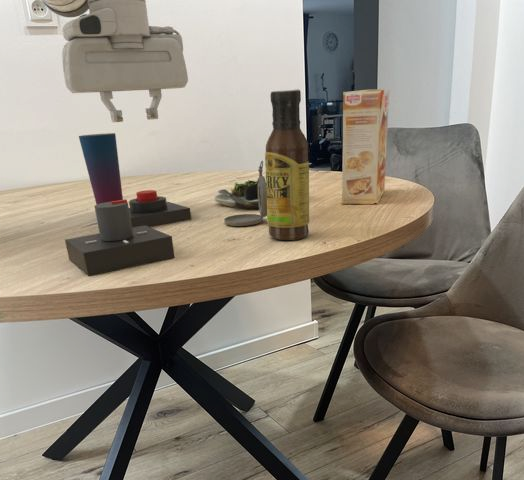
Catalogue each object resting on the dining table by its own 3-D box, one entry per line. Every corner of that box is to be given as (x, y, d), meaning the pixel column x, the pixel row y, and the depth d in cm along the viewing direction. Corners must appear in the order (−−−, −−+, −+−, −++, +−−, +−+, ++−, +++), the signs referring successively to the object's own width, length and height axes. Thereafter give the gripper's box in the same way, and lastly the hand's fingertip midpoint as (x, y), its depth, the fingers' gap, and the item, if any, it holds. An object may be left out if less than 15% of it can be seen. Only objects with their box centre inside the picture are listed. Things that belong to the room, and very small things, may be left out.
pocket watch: (217, 224, 89) (211, 163, 84) (254, 216, 93) (250, 158, 89) (246, 231, 83) (241, 166, 78) (284, 221, 87) (282, 159, 83)
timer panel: (88, 276, 65) (83, 251, 64) (69, 260, 73) (64, 238, 72) (174, 257, 71) (171, 234, 69) (148, 244, 78) (145, 224, 77)
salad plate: (191, 205, 108) (188, 182, 106) (252, 192, 119) (251, 171, 117) (253, 214, 95) (251, 188, 93) (316, 198, 106) (315, 175, 104)
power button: (141, 204, 91) (140, 194, 90) (135, 201, 94) (133, 192, 93) (160, 201, 93) (159, 191, 92) (153, 199, 96) (152, 189, 95)
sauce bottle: (260, 237, 78) (251, 92, 70) (292, 230, 81) (287, 90, 73) (286, 244, 74) (279, 89, 65) (319, 236, 77) (317, 87, 68)
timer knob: (106, 243, 68) (99, 206, 66) (96, 237, 71) (89, 202, 69) (138, 237, 70) (132, 201, 68) (127, 232, 73) (120, 197, 71)
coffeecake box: (378, 204, 96) (382, 88, 88) (340, 204, 98) (341, 91, 90) (386, 191, 109) (390, 88, 100) (352, 191, 111) (354, 91, 103)
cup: (88, 217, 102) (71, 136, 96) (105, 210, 108) (90, 134, 102) (118, 217, 101) (103, 134, 94) (134, 210, 106) (121, 132, 100)
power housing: (128, 231, 88) (124, 207, 86) (111, 222, 96) (107, 201, 94) (191, 220, 94) (189, 197, 92) (170, 213, 102) (167, 192, 100)
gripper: (172, 29, 89) (183, 116, 95) (51, 28, 79) (71, 125, 85) (188, 23, 84) (198, 116, 90) (60, 21, 74) (81, 125, 80)
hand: (135, 120), depth 87 cm, fingers open, 5 cm apart
